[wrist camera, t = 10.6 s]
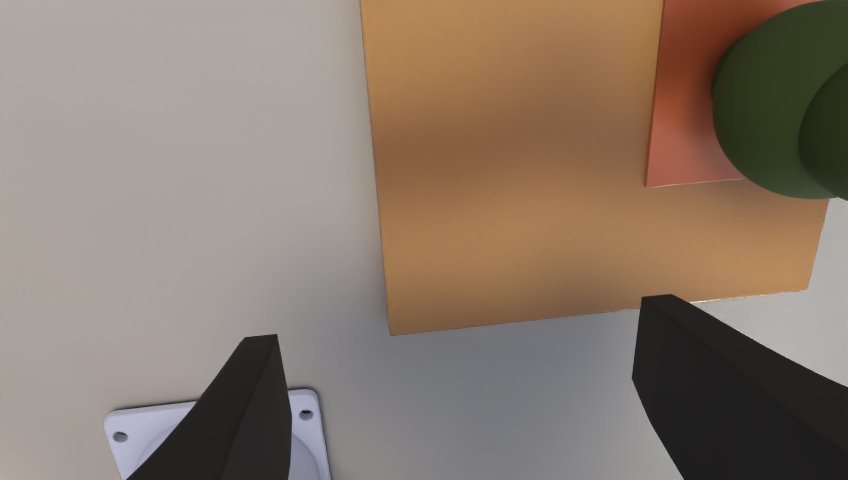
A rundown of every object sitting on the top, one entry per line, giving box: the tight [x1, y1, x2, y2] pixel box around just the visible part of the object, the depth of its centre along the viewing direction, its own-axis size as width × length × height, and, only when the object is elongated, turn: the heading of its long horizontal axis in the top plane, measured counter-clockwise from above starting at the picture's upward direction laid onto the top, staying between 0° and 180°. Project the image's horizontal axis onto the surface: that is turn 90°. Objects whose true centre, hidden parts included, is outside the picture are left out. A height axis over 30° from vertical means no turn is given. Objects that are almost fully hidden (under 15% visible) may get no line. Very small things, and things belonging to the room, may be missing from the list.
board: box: [359, 0, 829, 336], centre depth 22 cm, size 12×16×1 cm
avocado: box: [711, 0, 848, 201], centre depth 18 cm, size 5×5×7 cm
